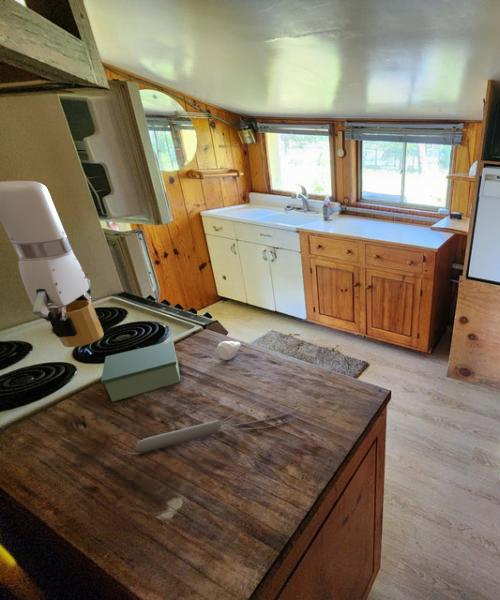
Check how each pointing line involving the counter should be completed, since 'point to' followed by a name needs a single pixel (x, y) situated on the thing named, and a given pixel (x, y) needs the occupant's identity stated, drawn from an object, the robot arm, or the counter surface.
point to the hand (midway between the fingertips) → (78, 326)
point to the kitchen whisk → (197, 431)
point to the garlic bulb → (228, 349)
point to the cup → (82, 324)
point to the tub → (140, 370)
